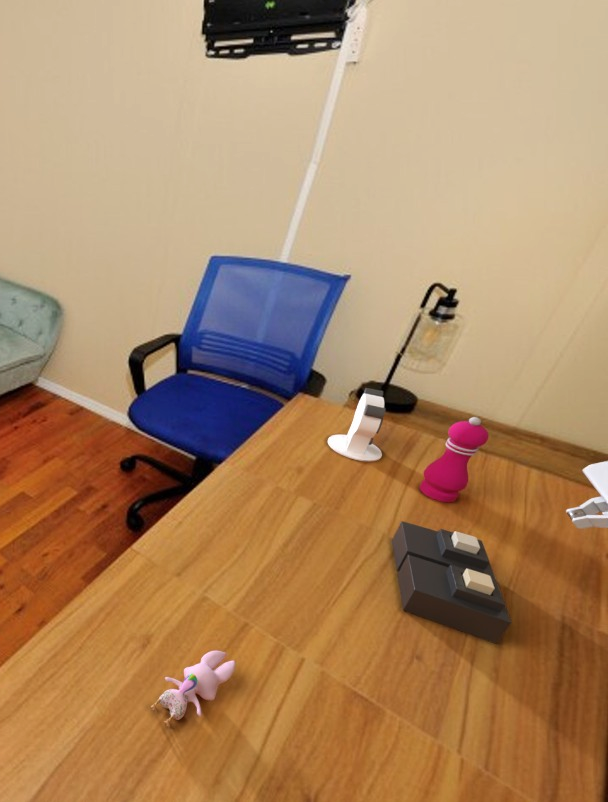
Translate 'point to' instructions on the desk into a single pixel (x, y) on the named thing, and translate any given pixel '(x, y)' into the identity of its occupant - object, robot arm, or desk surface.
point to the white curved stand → (362, 429)
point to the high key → (478, 581)
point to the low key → (465, 542)
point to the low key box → (436, 549)
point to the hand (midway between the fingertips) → (571, 519)
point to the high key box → (451, 599)
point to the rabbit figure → (196, 684)
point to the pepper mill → (454, 461)
